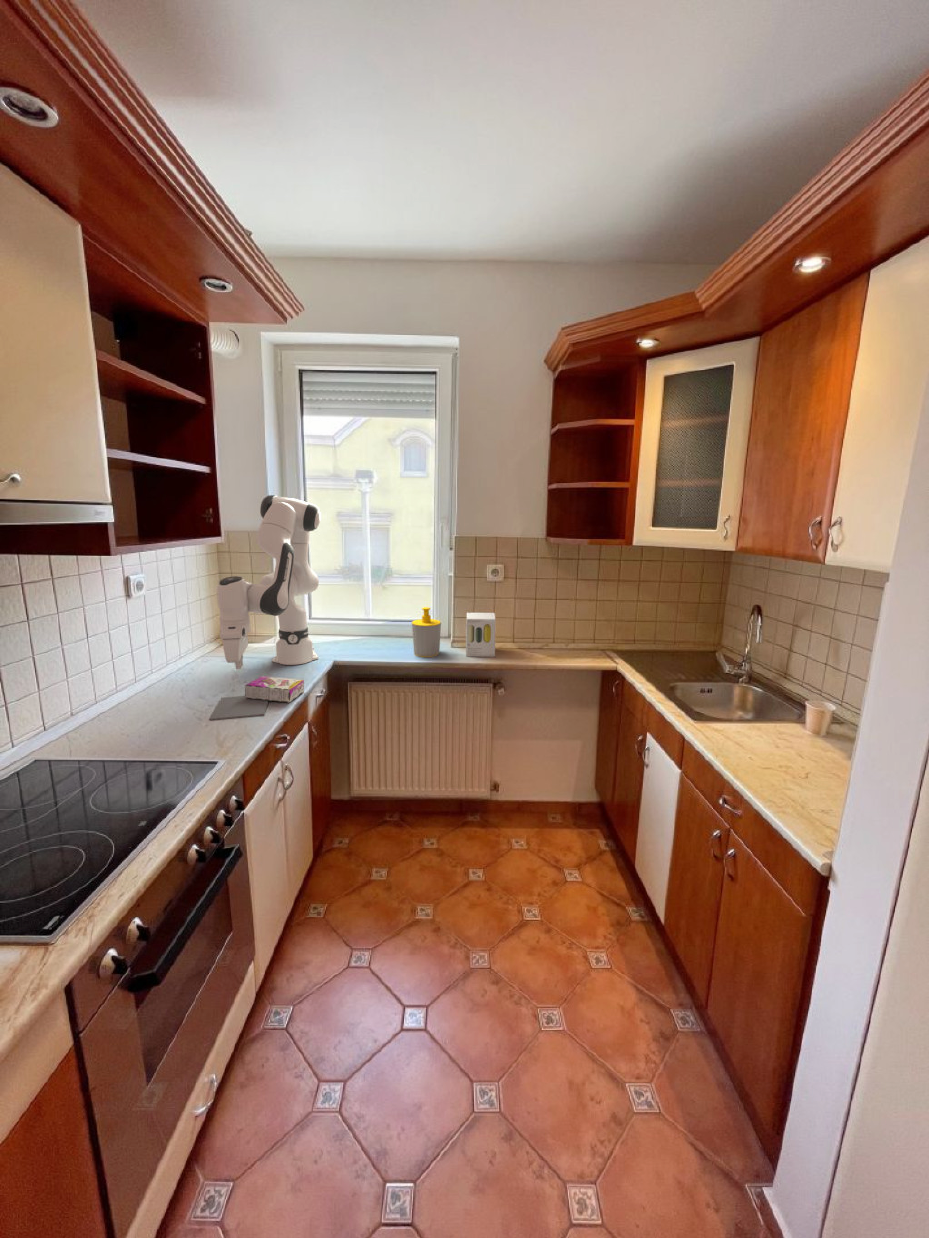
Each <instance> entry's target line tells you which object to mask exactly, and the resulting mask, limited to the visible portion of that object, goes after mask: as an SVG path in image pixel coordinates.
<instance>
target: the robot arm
mask: <svg viewBox="0 0 929 1238" xmlns="http://www.w3.org/2000/svg"><path fill="white" fill-rule="evenodd" d="M259 508H260V511H259V512H260V516H261V518H262V520H261V523H260V526H259V528H258V530H257V534H256V542H257V545H258V547H259V548H260V549H261V550H262V551H263V552H264V553H265V554H267V556H268V555H269V556H270V557H272V558H274V559H275V566H274V567H275V568H274V572H270V573H268V574H265V575H264V576H263V575H262V577H261V579H260V581H259V584H258V583H252V582H248V581H247V580H245V579H244V578H243V577H242V576H238V575H237V576H235V575H234V576H228V577H225V578H222V579H220V580H219V582H218V585H217V590H216V596H217V597H216V598H217V606H218V609H219V628H220V630H219V639H220V640H222V647H223V652H224V659H225V660H226V662H227V663H230V664H231V663H232V664H233V663H234V667H235V668H236V670H241V669H242V668H243V666H244V664H243V663H244V661H243V659H244V653H245V652H246V650H247V648H248V646H249V639H248V633H250V632H251V621H250V615H249V613H254V614H265V615H270V616H274V617H276V616H277V617H278V624H279V625H278V626H279V629H278V638H279V639H278V640H277V642H275V652H276V655H275V656H274V658H272V660H271V661H272V663H277V664H280V665H287V666H291V665H292V666H295V665H302V664H306V663H309V662H312V661H315V660H318V659H319V655H318V654H317V653H316V651H315V650H314V649H315V648H314V647H313V640H312V639H311V638H309V628H308V625H307V612H306V610H305V608H304V607H302V606H301V605H299V604H297V603H296V601H295V597H299V596H304V595H307V594H310V593H313V592H315V591H316V590H317V589H318V587H319V577H318V575H317V573H316V572H315V570H312V568H311V566H310V565H309V558H308V557H309V555H308V554H309V543H310V537H311V536H310V534H311V533H310V532H313V531H315V530H316V529H318V527H319V525H320V523H321V518H322V515H321V510H320V508H319V506H317V505H316V504H314V503H310V502H306V501H303V500H300V499H297V498H289V497H285V496H278V495H273V494H270V495H266V496H265V497H264V498H263V499H262V501H261V504H260V507H259Z"/></svg>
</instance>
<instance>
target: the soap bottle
mask: <svg viewBox="0 0 929 1238" xmlns="http://www.w3.org/2000/svg"><path fill="white" fill-rule="evenodd" d="M421 610H423V614H422V616H421V618H420V619H419V618H418V619H415V620H412V621H411V627H412V628H411V630H412V643H413V654H414V656H416V657H421V658H432V657H436V656H439V654H440V650H441V649H440V647H441V628H442V627H441V626H442V623H441V620H439V619H434V618H431V617H432V616H431V615H430V610H431V607H428V606H424V607H422V608H421Z"/></svg>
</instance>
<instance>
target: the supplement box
mask: <svg viewBox="0 0 929 1238" xmlns="http://www.w3.org/2000/svg"><path fill="white" fill-rule="evenodd" d="M465 620H466V623H465V657H483V658H485V657H488V658H489V657H496V614H495V612H466V619H465Z"/></svg>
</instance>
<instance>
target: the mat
mask: <svg viewBox="0 0 929 1238" xmlns="http://www.w3.org/2000/svg"><path fill="white" fill-rule="evenodd" d="M269 701H270V700H261V699H251V698H245V695H239V696H238V695H237V696H227V697H226V696H225V697H220V699H219V701H218V703H217V705H216V707H215V708H214V711H213V712H212V714H211V716H210V717H209V721H219V720H227V719H236V718H247V717H260V716H265V713H266V711H267V708H268V704H269Z"/></svg>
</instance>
